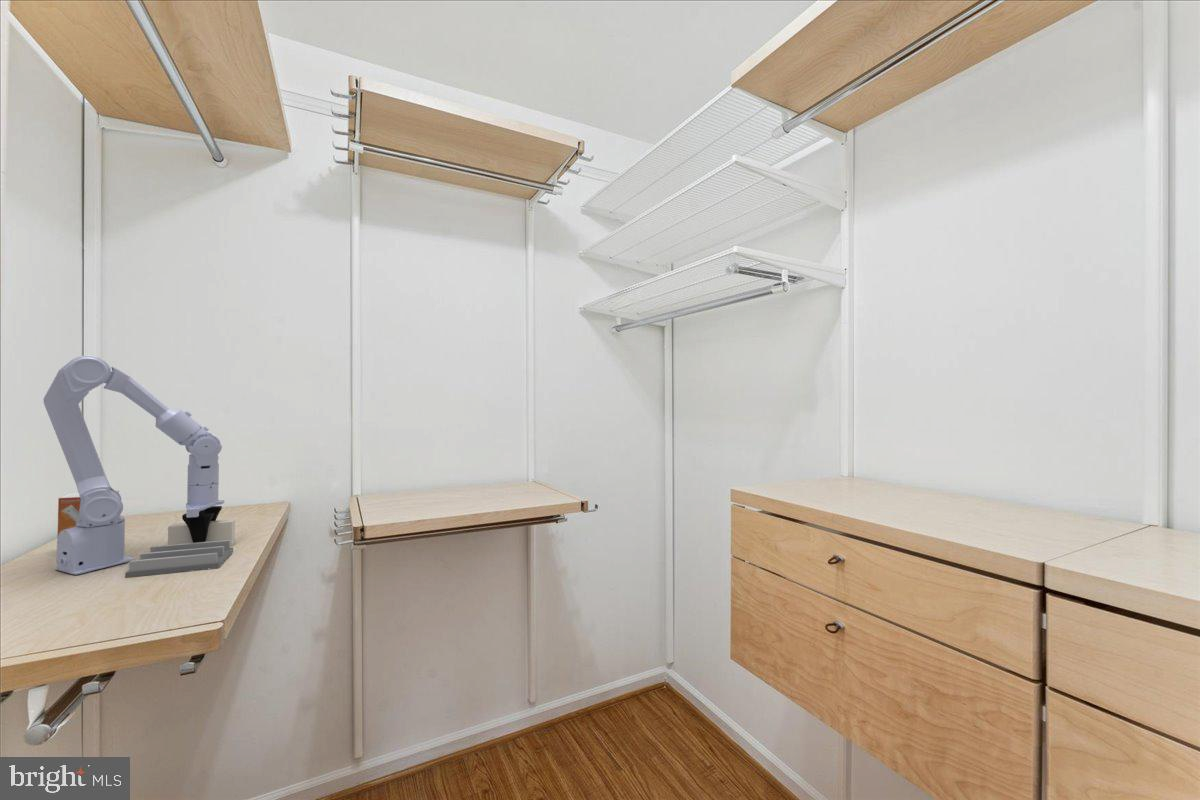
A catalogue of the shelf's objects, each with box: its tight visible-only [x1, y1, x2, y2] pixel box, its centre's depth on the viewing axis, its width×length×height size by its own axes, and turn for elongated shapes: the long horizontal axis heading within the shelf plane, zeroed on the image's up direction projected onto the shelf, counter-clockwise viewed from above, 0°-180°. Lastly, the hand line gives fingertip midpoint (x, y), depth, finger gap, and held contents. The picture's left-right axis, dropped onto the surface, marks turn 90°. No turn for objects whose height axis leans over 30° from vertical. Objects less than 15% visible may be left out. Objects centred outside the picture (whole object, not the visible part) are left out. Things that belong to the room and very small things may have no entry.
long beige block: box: [167, 519, 236, 547], centre depth 114 cm, size 12×3×6 cm, turn 115°
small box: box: [56, 490, 120, 540], centre depth 111 cm, size 8×6×13 cm
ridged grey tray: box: [124, 540, 234, 579], centre depth 103 cm, size 15×11×3 cm
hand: (202, 540), depth 114 cm, fingers open, 4 cm apart
